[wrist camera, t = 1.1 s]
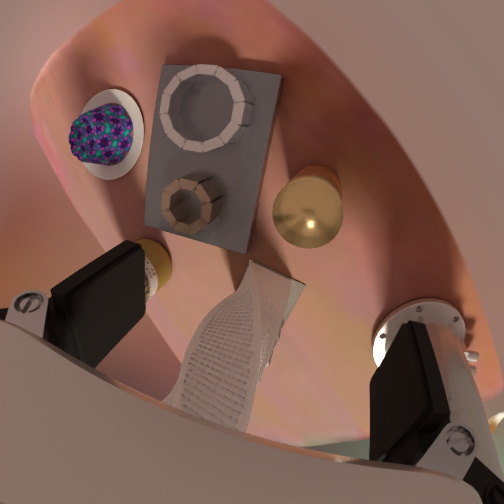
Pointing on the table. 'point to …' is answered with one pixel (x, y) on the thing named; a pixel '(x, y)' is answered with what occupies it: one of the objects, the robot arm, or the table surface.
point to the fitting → (309, 208)
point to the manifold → (210, 152)
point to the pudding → (108, 134)
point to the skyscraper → (235, 348)
